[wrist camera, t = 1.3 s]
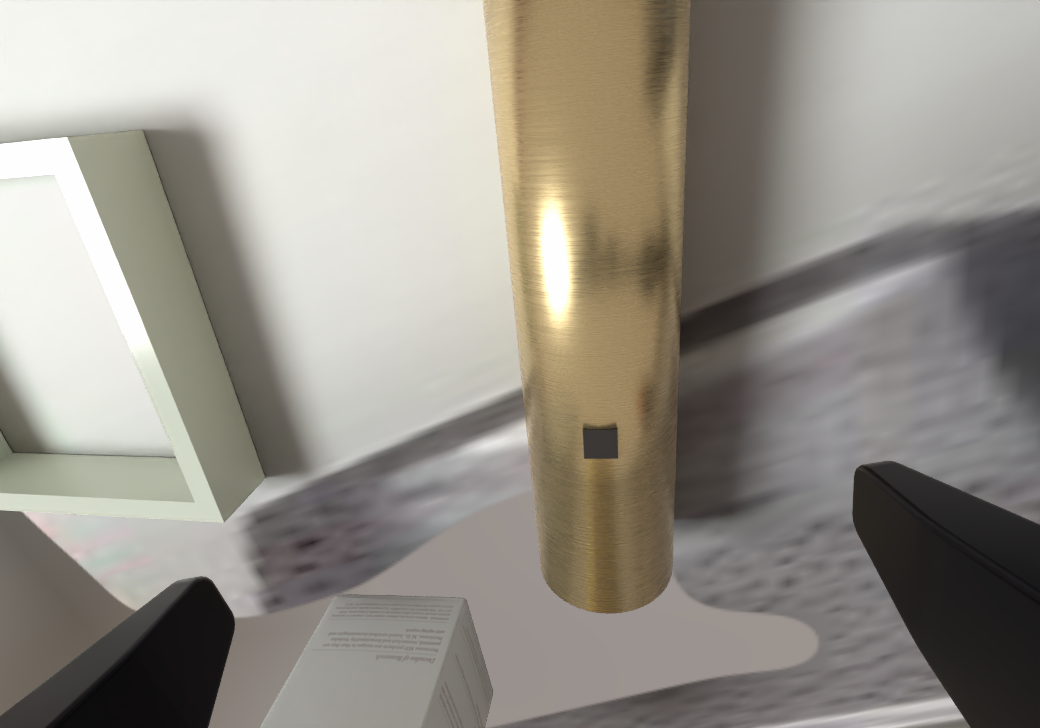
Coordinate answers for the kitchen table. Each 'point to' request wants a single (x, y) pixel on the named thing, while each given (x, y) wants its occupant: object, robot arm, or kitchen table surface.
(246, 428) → the rim
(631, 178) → the tube
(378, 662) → the supplement box
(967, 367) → the kitchen table surface
